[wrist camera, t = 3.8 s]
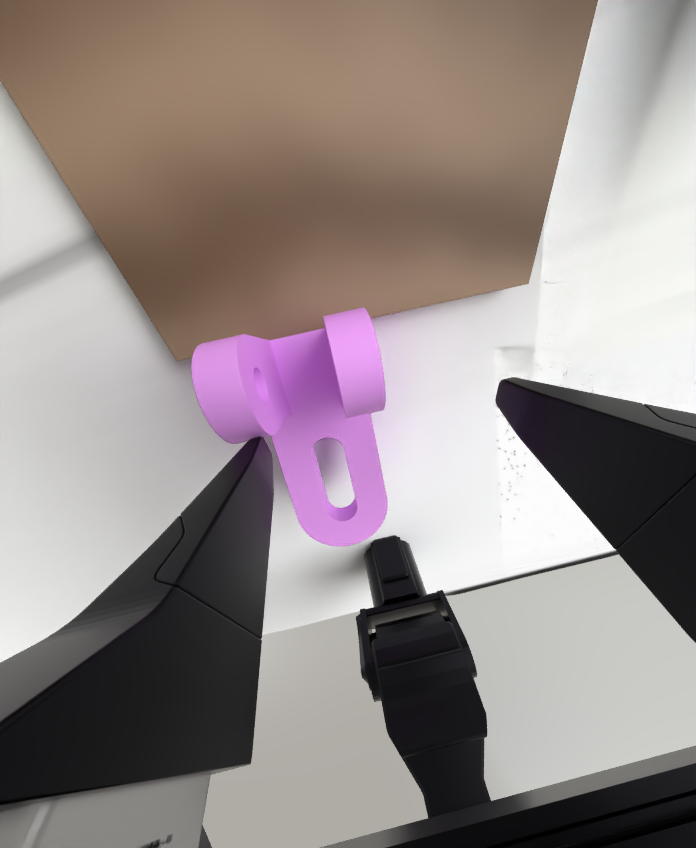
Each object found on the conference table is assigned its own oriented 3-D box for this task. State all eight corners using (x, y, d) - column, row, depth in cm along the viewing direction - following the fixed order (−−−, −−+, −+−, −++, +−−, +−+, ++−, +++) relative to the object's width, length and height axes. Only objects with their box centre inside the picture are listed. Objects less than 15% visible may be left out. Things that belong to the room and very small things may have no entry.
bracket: (250, 347, 14) (173, 340, 7) (349, 325, 14) (370, 296, 7) (310, 539, 17) (299, 657, 10) (389, 520, 17) (427, 626, 10)
